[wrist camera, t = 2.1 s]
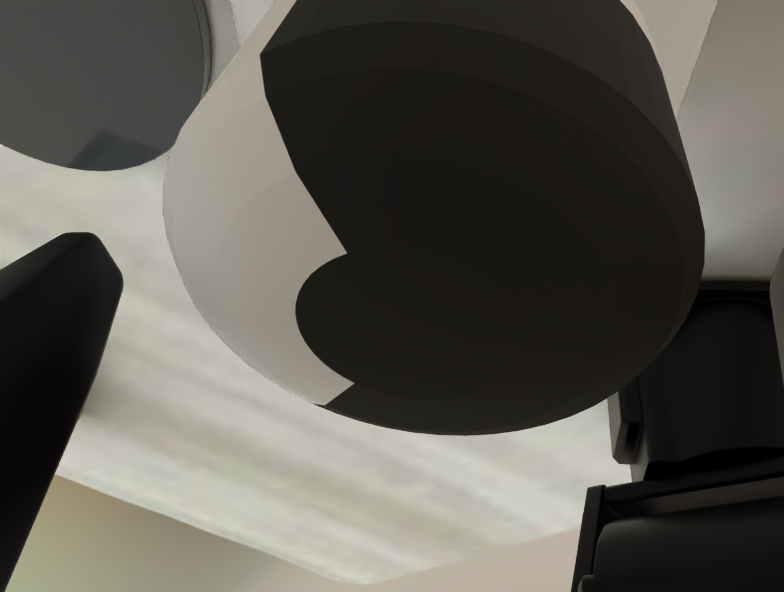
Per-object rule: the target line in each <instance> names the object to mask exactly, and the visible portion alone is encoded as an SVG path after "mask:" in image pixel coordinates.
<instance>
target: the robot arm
mask: <svg viewBox="0 0 784 592" xmlns="http://www.w3.org/2000/svg"><path fill="white" fill-rule="evenodd" d="M122 290H123V276H122V273H121V271H120V270H119V268H118V267H117V265H116V263H115V262H114V260H113V259H112V257H111V256H110V254H109V252H108V251H107V249H106V248H105V246H104V245H103V243H102V242H101V240H100V239H99V238H98V237H97V236H96V235H94V234H92V233H89V232H70V233H65V234H62V235H60V236H58V237H56V238H55V239H53V240H51V241H49V242H48V243H46V244H44V245H42V246H41V247H39V248H37V249H35V250H34V251H32V252H30V253H29V254H27V255H25V256H23V257H22V258H20V259H18V260H16V261H15V262H13V263H11V264H10V265H8V266H6V267H4V268H3V269H1V270H0V592H5V590H6V587H7V585H8V583H9V580H10V578H11V576H12V573H13V571H14V568H15V566H16V564H17V561H18V559H19V556H20V554H21V552H22V550H23V547H24V545H25V542H26V540H27V538H28V536H29V533H30V531H31V529H32V526H33V524H34V521H35V519H36V517H37V514H38V512H39V510H40V507H41V505H42V503H43V500H44V498H45V495H46V493H47V491H48V488H49V486H50V484H51V481H52V479H53V477H54V474H55V472H56V470H57V467H58V465H59V463H60V460H61V458H62V456H63V453H64V451H65V449H66V446H67V444H68V442H69V439H70V437H71V435H72V432H73V430H74V427H75V425H76V423H77V420H78V418H79V416H80V413H81V411H82V409H83V406H84V404H85V402H86V399H87V397H88V395H89V392H90V390H91V387H92V385H93V382H94V380H95V377H96V374H97V371H98V368H99V365H100V362H101V359H102V356H103V352H104V349H105V346H106V343H107V339H108V336H109V333H110V330H111V326H112V323H113V320H114V317H115V313H116V310H117V307H118V304H119V300H120V297H121V294H122ZM607 400H608V412H609V423H610V434H611V446H612V457H613V458H614V459H615V460H616V461H617V462H618V463H619V464H630V467H631V476H632V482H631V483H626V484H620V485H615V486H609V487H606V486H605V485H599V486H593V487H589V488H588V489H587V495H586V501H585V507H584V512H583V518H582V524H581V531H580V538H579V544H578V551H577V557H576V563H575V570H574V576H573V582H572V588H571V592H784V248H783V250H782V253H781V255H780V258H779V260H778V263H777V265H776V268H775V270H774V273H773V275H772V278H771V282H761V281H700V285H699V290H698V293H697V295H696V298H695V300H694V302H693V304H692V307H691V309H690V311H689V314H688V316H687V318H686V320H685V321H684V323H683V324H682V326H681V327H680V329H679V330H678V331H677V333H676V334H675V336H674V337H673V339H672V340H671V342H670V343H669V344H668V345H667V346H666V347H665V348H664V349H663V350H662V351H661V352H660V353H659V354H658V355H657V357H656V358H655V359H654V360H653V361H652V362H651V363H650V364H649V365H648V366H647V367H646V368H645V369H644V370H643V371H642V372H641V373H640V374H639V375H638V376H637V377H636V378H634V379H633V380H632V381H630V382H629V383H628V384H627V385H625V386H624V387H623V388H621V389H620V390H619V391H618V392H616V393H615V394H613V395H611V396H610V397H608V398H607Z"/></svg>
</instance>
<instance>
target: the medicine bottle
mask: <svg viewBox="0 0 784 592" xmlns="http://www.w3.org/2000/svg"><path fill="white" fill-rule="evenodd" d="M717 2H718V0H230V3H231V7H232V12H233V17H234V22H235V27H236V32H237V36H238V41H239V46H240V49H239V50H238V51H237V53H236V54H235V55H234V57H233V58H232V59H231V61H230V62H229V63H228V65H227V66H226V67H225V69H224V70H223V71H222V73H221V74H220V75H219V77H218V78H217V80H216V81H215V82H214V84H213V85H212V86H211V88H210V89H209V90H208V92H207V93H206V94H205V96H204V97H203V98H202V100H201V101H200V102H199V104H198V105H197V107H196V108H195V110H194V111H193V112H192V114H191V115H190V117H189V118H188V120H187V121H186V123H185V124H184V125H183V127H182V128H181V130H180V133H179V135H178V137H177V140H176V142H175V144H174V147H173V149H172V151H171V154H170V156H169V160H168V165H167V169H166V174H165V179H164V184H163V216H164V222H165V228H166V234H167V240H168V243H169V246H170V249H171V252H172V254H173V257H174V260H175V263H176V266H177V268H178V271H179V273H180V275H181V278H182V280H183V283H184V285H185V287H186V289H187V291H188V293H189V295H190V296H191V298H192V300H193V302H194V304H195V306H196V308H197V309H198V311H199V312H200V313H201V315H202V316H203V318H204V319H205V320H206V322H207V323H208V325H209V326H210V327H211V329H212V330H213V331H214V332H215V333H216V334H217V335H218V336H219V337H220V339H221V340H222V341H223V342H224V343H225V344H226V345H227V346H228V347H229V348H230V349H231V350H232V351H233V352H234V353H236V354H237V355H238V356H239V357H240V358H241V359H242V360H243V361H244V362H246V363H247V364H248V365H249V366H251V367H252V368H254V369H255V370H256V371H258V372H259V373H260V374H262V375H263V376H264V377H266V378H267V379H269V380H270V381H272V382H274V383H275V384H277V385H279V386H280V387H282V388H283V389H285V390H287V391H288V392H290V393H292V394H294V395H296V396H298V397H300V398H302V399H304V400H306V401H308V402H310V403H312V404H315V405H317V406H319V407H322V408H324V409H327V410H329V411H332V412H334V413H337V414H340V415H343V416H346V417H349V418H352V419H355V420H358V421H361V422H365V423H369V424H373V425H377V426H381V427H385V428H391V429H396V430H402V431H408V432H414V433H425V434H435V435H463V436H468V435H486V434H497V433H505V432H512V431H519V430H524V429H528V428H533V427H537V426H542V425H546V424H549V423H552V422H555V421H558V420H561V419H564V418H567V417H570V416H572V415H575V414H577V413H579V412H581V411H584V410H586V409H588V408H590V407H593V406H595V405H596V404H598V403H600V402H601V401H603V400H605V399H606V398H608V397H610V396H611V395H613V394H615V393H616V392H618V391H619V390H620V389H621V388H623V387H624V386H625V385H627V384H628V383H629V382H630V381H632V380H633V379H634V378H636V377H637V376H638V375H639V374H640V373H641V372H642V371H643V370H644V369H645V368H646V367H647V366H648V365H649V364H650V363H651V362H652V361H653V360H654V359H655V358H656V357H657V355H658V354H659V353H660V352H661V351H662V350H663V349H664V348H665V347H666V346H667V345H668V344H669V343H670V342H671V340H672V339H673V337H674V336H675V334H676V333H677V331H678V330H679V329H680V327H681V326H682V324H683V323H684V321H685V320H686V318H687V316H688V314H689V311H690V309H691V307H692V304H693V302H694V300H695V298H696V295H697V293H698V290H699V285H700V281H701V276H702V272H703V267H704V252H705V231H704V226H703V221H702V216H701V211H700V206H699V201H698V197H697V193H696V190H695V186H694V183H693V179H692V176H691V172H690V169H689V165H688V162H687V158H686V155H685V151H684V147H683V144H682V140H681V137H680V133H679V130H678V126H677V123H676V118H677V115H678V112H679V109H680V107H681V104H682V101H683V98H684V95H685V92H686V90H687V87H688V84H689V81H690V78H691V75H692V73H693V70H694V67H695V64H696V61H697V58H698V56H699V53H700V50H701V47H702V44H703V41H704V39H705V36H706V33H707V30H708V27H709V24H710V22H711V19H712V16H713V13H714V10H715V8H716V5H717Z"/></svg>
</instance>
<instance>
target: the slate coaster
mask: <svg viewBox="0 0 784 592" xmlns="http://www.w3.org/2000/svg"><path fill="white" fill-rule="evenodd" d="M210 64H211V51H210V34H209V28H208V22H207V16H206V10H205V7H204V3H203V0H0V144H2V145H4V146H6V147H8V148H10V149H12V150H15V151H17V152H19V153H22V154H24V155H26V156H29V157H32V158H35V159H38V160H40V161H43V162H46V163H50V164H54V165H58V166H62V167H66V168H72V169H79V170H86V171H113V170H123V169H127V168H131V167H136V166H140V165H142V164H144V163H147V162H149V161H152V160H154V159H156V158H158V157H159V156H161V155H162V154H164V153H165V152H167V151H168V150H170V149H171V148H172V147H173V146H174V144H175V142H176V140H177V137H178V135H179V133H180V130H181V128H182V127H183V125H184V124H185V123H186V121H187V120H188V118H189V117H190V115H191V114H192V112H193V111H194V110H195V108H196V107H197V105H198V104H199V102H200V101H201V100H202V98H203V97H204V96H205V94H206V90H207V86H208V82H209V74H210Z"/></svg>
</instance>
